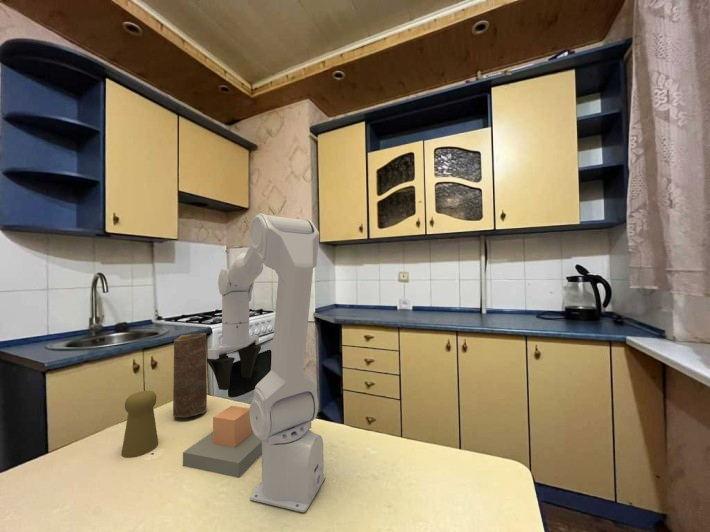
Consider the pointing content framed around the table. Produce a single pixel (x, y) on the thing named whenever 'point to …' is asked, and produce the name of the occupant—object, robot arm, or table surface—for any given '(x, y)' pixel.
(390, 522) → the table surface
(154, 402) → the cork
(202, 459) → the grey square plate
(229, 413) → the terracotta cube
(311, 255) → the robot arm
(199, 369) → the candle
